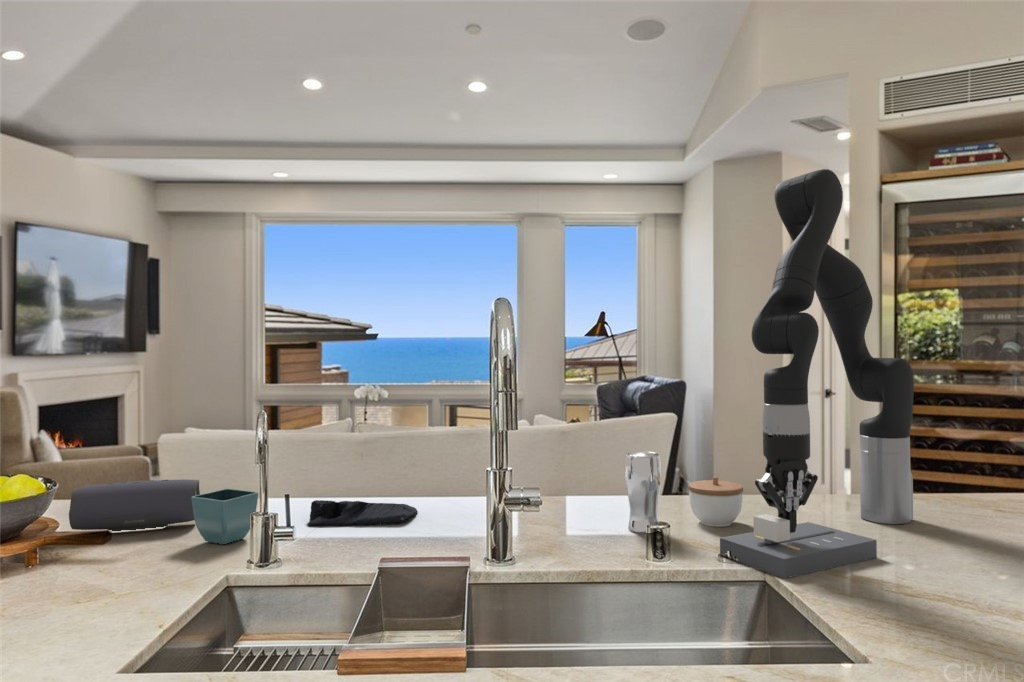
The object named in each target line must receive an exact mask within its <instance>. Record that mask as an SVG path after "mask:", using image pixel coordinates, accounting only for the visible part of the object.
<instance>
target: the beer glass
mask: <svg viewBox="0 0 1024 682" xmlns="http://www.w3.org/2000/svg"><path fill="white" fill-rule="evenodd" d="M624 475H625V485H626V492H627V498H628V503H629V504H628V505H629V521H628V528H627V529H628V531H630V532H631V533H635V534H645V533H646V527H647V524H649V523H651V522H658V523H659V518H658V517H659V516H658V506H659V499H660V493H661V487H662V465H661V455H660V453H658V452H655V451H629V452H627V453H626V456H625V474H624ZM645 535H646V534H645Z"/></svg>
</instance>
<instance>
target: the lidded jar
mask: <svg viewBox="0 0 1024 682" xmlns="http://www.w3.org/2000/svg"><path fill="white" fill-rule="evenodd" d="M688 490H689V491H688V496H689V497H688V498H689V504H690V508H691V510H692V513H693V514H694V516H695V517H696V518H697V519H698V520H699V522H700V524H702V525H705V526H708V527H713V528H714V527H715V528H716V527H718V528H720V527H721V528H723V527H729V526H731V525H732V523H733V522H734V521H735V520H736V519H738V517H739V515H740V513H741V511H742V506H743V492H744V487H743V485H742V484H740V483H738V482H734V481H727V480H719V477H718V476H713V477H712V479H709V480H705V479H704V480H697V481H692V482H690V483H688Z"/></svg>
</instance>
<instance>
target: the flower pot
mask: <svg viewBox="0 0 1024 682" xmlns="http://www.w3.org/2000/svg"><path fill="white" fill-rule="evenodd" d="M258 498H259V492H258V491H251V490H243V489H233V488H223V489H219V490H215V491H211V492H205V493H200V495H197V496H193V497H191V499H192V506H193V513H194V523H195V526H196V528H197V531H198V533H199V534H200V536H201V537H202V539H203V540H204V541H205V542H206V541H208V542H207V543H211V542H213V543H214V544H217V543H219V544H218V545H223V544H226V545H228V544H227V543H229V544H231V543H230V542H232V543H234V542H233V541H235V540H238V539H241V538H244V537H245V538H246V537H247V534H248V533H249V532H250V530H251V528H250V514H251V513H253V512H257V505H258ZM245 538H244V539H245ZM241 540H242V539H241ZM238 541H239V540H238ZM235 542H236V541H235Z"/></svg>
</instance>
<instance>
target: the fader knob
mask: <svg viewBox="0 0 1024 682" xmlns="http://www.w3.org/2000/svg"><path fill="white" fill-rule="evenodd" d="M753 532H754V535H755V536H759V537H762V538H764V539H765V542H766V543H769V544H771V543H777V542H780V541H785V540H790V520H787V519H783V518H779V517H778V516H775V515H771V514H767V513H765V514H759V515H753Z"/></svg>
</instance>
